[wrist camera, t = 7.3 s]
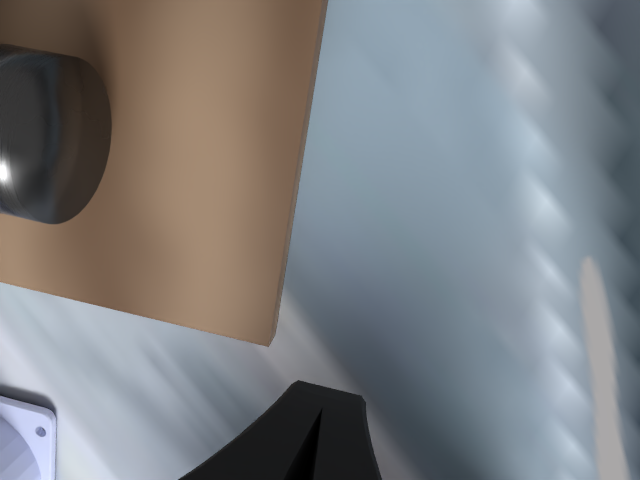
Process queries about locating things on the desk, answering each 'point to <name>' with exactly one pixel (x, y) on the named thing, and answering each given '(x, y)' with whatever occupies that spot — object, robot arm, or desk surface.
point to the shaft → (50, 134)
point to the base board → (179, 158)
